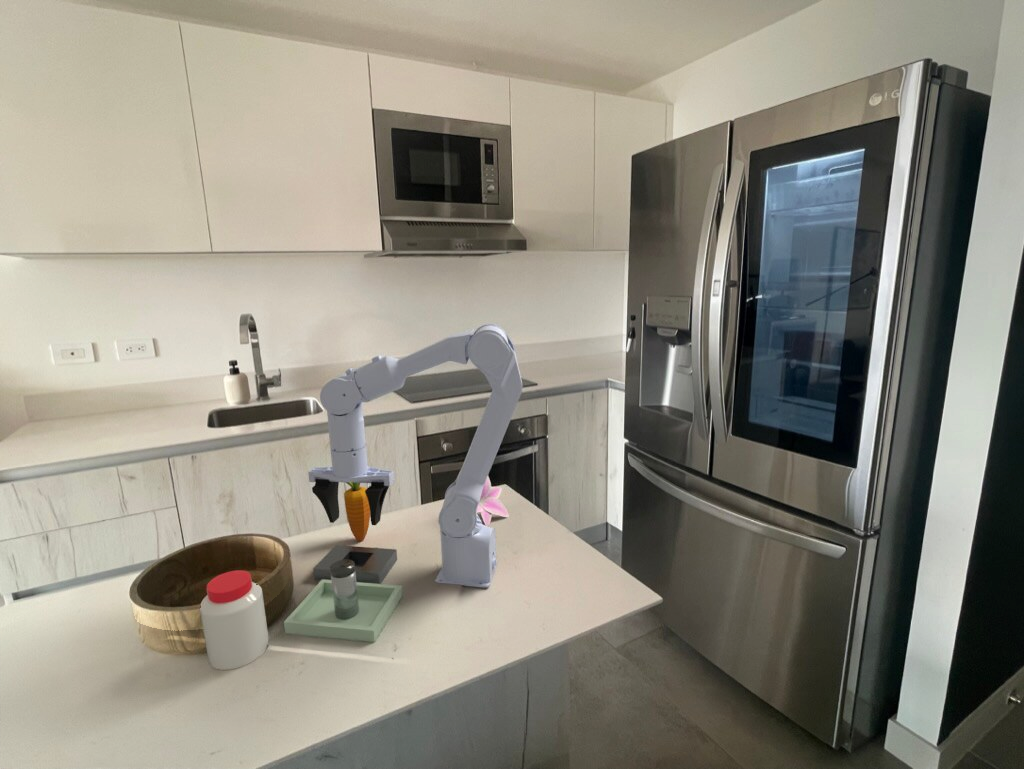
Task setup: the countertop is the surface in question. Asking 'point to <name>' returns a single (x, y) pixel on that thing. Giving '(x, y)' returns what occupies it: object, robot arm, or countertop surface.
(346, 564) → the pin
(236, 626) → the pill bottle
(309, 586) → the countertop surface
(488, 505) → the lily
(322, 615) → the tray
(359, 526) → the carrot
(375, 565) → the hitch block
